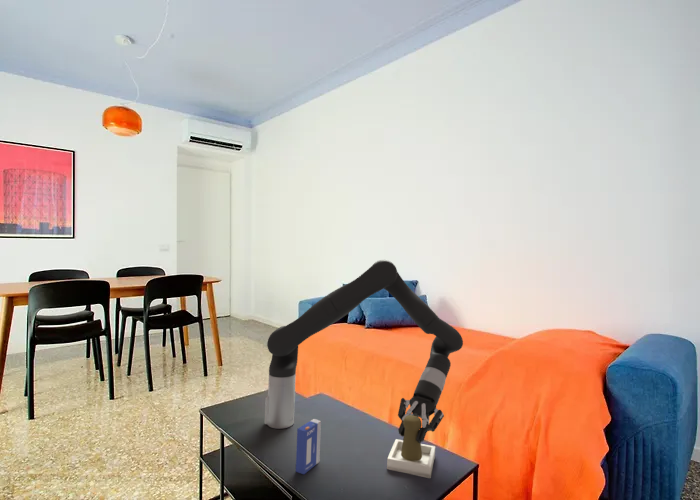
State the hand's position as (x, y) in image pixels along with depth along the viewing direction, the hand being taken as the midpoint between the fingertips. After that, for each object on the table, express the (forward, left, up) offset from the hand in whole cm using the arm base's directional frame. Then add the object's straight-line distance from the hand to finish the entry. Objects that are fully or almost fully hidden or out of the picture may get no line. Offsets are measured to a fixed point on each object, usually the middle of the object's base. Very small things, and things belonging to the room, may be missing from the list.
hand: (409, 438), depth 109 cm
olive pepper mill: (+1, +1, -6) cm, 6 cm away
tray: (+1, +2, -8) cm, 8 cm away
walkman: (-26, -11, -8) cm, 30 cm away
